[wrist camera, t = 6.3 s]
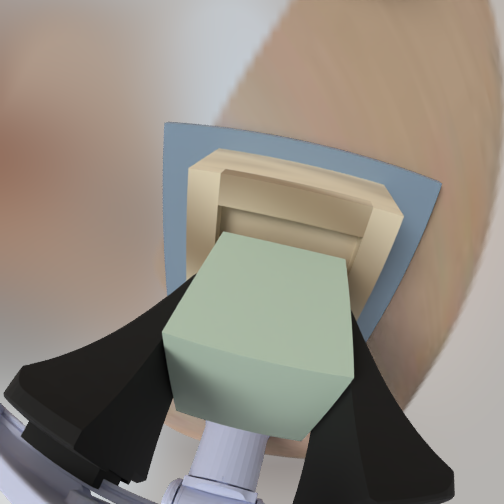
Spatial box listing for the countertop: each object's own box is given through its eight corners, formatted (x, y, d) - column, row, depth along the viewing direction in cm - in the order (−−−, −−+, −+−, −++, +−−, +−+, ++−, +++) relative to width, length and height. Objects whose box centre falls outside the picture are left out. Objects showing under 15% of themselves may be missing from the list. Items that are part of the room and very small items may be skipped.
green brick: (312, 340, 12) (301, 440, 8) (216, 317, 13) (176, 410, 9) (345, 259, 10) (354, 377, 6) (223, 231, 10) (161, 331, 6)
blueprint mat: (334, 385, 21) (334, 389, 21) (175, 347, 23) (173, 350, 23) (439, 181, 12) (441, 184, 11) (168, 121, 13) (164, 122, 13)
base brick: (337, 308, 16) (337, 355, 14) (209, 279, 17) (187, 319, 14) (384, 184, 12) (404, 216, 9) (218, 148, 13) (188, 168, 10)
